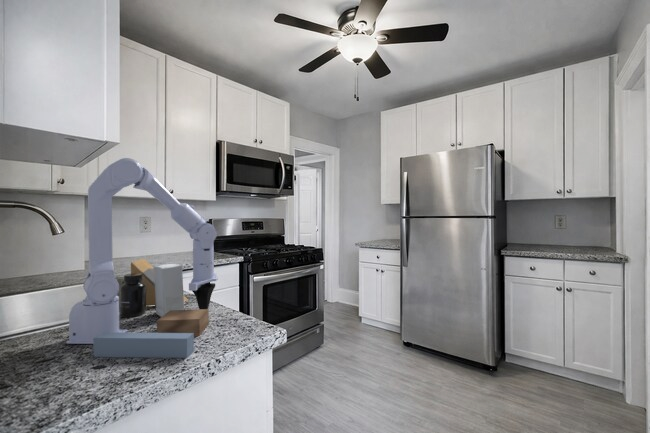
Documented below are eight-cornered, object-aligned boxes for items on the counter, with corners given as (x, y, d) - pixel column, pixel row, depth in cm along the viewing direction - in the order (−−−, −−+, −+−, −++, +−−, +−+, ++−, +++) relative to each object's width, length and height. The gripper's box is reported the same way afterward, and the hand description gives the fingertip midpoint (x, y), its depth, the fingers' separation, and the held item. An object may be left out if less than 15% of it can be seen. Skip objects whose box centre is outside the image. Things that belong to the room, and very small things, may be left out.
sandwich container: (179, 306, 101) (178, 261, 101) (130, 308, 100) (130, 261, 100) (189, 299, 110) (188, 257, 110) (144, 300, 109) (144, 258, 109)
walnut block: (157, 338, 75) (156, 320, 75) (170, 327, 83) (170, 310, 83) (199, 337, 76) (199, 319, 76) (208, 325, 84) (208, 309, 84)
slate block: (93, 356, 65) (93, 337, 65) (104, 350, 68) (104, 332, 68) (187, 357, 65) (187, 338, 65) (193, 351, 68) (193, 333, 68)
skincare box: (184, 315, 92) (184, 265, 92) (162, 320, 88) (162, 267, 88) (174, 309, 98) (174, 262, 98) (153, 313, 94) (153, 264, 94)
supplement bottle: (117, 319, 89) (117, 277, 89) (122, 312, 95) (121, 273, 95) (145, 316, 92) (144, 275, 92) (147, 309, 98) (147, 271, 98)
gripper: (206, 267, 84) (207, 317, 84) (225, 259, 99) (225, 302, 99) (181, 267, 85) (181, 317, 85) (203, 259, 99) (203, 302, 99)
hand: (203, 309), depth 92 cm, fingers closed
